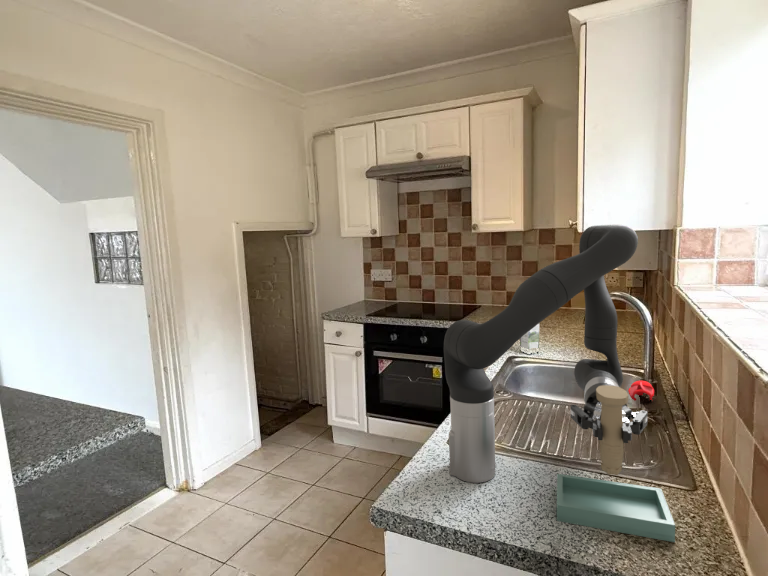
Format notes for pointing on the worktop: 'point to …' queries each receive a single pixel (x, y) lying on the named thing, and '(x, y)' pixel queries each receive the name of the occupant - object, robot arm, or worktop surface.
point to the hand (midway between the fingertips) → (613, 436)
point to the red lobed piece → (641, 389)
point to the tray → (614, 507)
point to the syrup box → (530, 338)
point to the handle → (611, 427)
